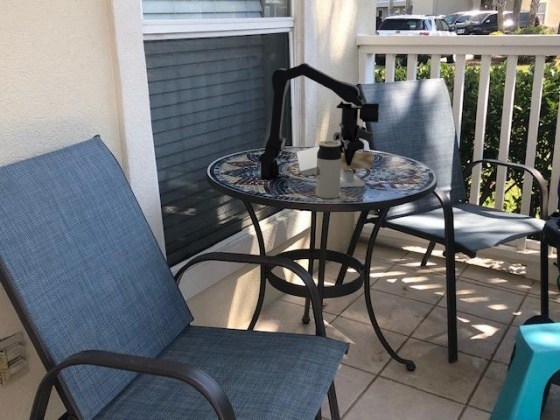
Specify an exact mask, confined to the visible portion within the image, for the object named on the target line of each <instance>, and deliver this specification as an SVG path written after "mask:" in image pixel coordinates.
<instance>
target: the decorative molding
mask: <svg viewBox="0 0 560 420" xmlns="http://www.w3.org/2000/svg"><path fill="white" fill-rule="evenodd" d="M318 150H319V145H317V146H314V147H311V148H307V149H302V150H299V151H296V155H297V161H298V166H299V172H300V174H301V176H316V172H317V152H318Z"/></svg>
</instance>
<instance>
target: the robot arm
mask: <svg viewBox="0 0 560 420" xmlns="http://www.w3.org/2000/svg"><path fill="white" fill-rule="evenodd" d="M302 76H303V77H306V78H307V79H309V80H311V81H313V82H316V83H317V84H319V85H320V86H323V87H325V88H327V89H328V90H330V91H332V92H333V93H334V94H336V95H337V96H338V97H339V98H340V99H341V101H340V102H339V103H338V104H337V105H336V109H341V117H340V119H341V122H339V127H340V132H337V131H336V132H335V133H334V134H333V136H332V141H336V142H340V143H341V145H340V151H341V153H344V156H345V160H346V163H347V166H350V165H351V162H352V159H353V157H354V154H355V152H358V151H361V150H362V151H363V150H365V143H364V142H363V141H362V140H364V141H366V142H367V143H370V142H371V140H372V137H373V135H374V134H373V133H371V132H370V131H367V128H366V127H365V126H363V125H359V123H358V121H359V120H358V119H360V121H362V122H363V123H379V121H380V103H379V102H365V101H364V99H363V98H362V97H361V95H360V92H361V91H360V88H359V87H358V86H357V85H355V84H352V83H349V82H346V81H342V80H338V79H336V78H334V77H333V76H330V75H328V74H327V73H324V72H323V71H321V70H318V69H317V68H315V67H314V66H311V65H310V64H308V63H307V62H302V63H300V64H299V65H296V66H294V67H290V68H288V69H287V68H284V67H282V68H278V69H276V70H274V71H273V72H272V74H271V87H272V91H273V92H272V93H273V99H272V110H271V120H270V130H269V135H268V137H267V140H266V143H265V147H264V152H263V153H261V154H260V155H259V156H258V161H259V173H258V176H259V178H260V179H261V180H265V179H266V180H269V179H270V180H272V179H279V176H280V165H279V164H278V163H279V162H278V160H277V159H278V157H279V156H280V155H281V154H282V153H283V152H284V150H285V149H286V146H285V144H286V139H287V138H286V137H283V135H282V131H283V122H284V119H283V118H284V112H285V101H286V94H287V92H288V89H289V86H290V82H291V80H293V79H296V78H299V77H302ZM358 114H359V115H358ZM360 139H361V140H360Z"/></svg>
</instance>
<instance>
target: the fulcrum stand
mask: <svg viewBox="0 0 560 420" xmlns="http://www.w3.org/2000/svg"><path fill="white" fill-rule="evenodd" d="M365 185H366V184H365V182H364V181H363V180H361V179H360V178H359V177H358V176H356V174H355V173H354V172H353V171H352V170H351V169H341V173H340V188H345V187H346V188H348V187H350V188H351V187H365Z"/></svg>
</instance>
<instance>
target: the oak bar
mask: <svg viewBox="0 0 560 420" xmlns="http://www.w3.org/2000/svg"><path fill="white" fill-rule="evenodd" d="M373 168H374V154H373V153H372V152H369V151H363V152H360V151H359V152H358V151H356V152H355V154H354V157H353V159H352V162H351V165H350V166H347V163H346V160H345V156H344V153H341V169H349V170H351V169H373Z"/></svg>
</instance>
